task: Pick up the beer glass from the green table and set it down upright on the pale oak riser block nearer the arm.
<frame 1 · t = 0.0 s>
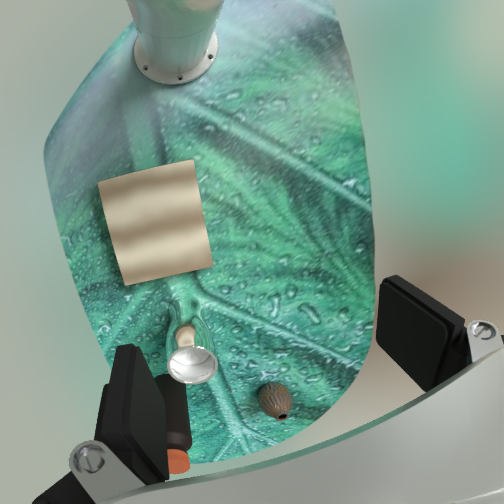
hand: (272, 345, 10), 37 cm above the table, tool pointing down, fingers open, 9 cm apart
oak riser: (157, 220, 44), on the table
bottle: (168, 384, 54), on the table
beer glass: (186, 309, 50), on the table
vase: (269, 388, 60), on the table
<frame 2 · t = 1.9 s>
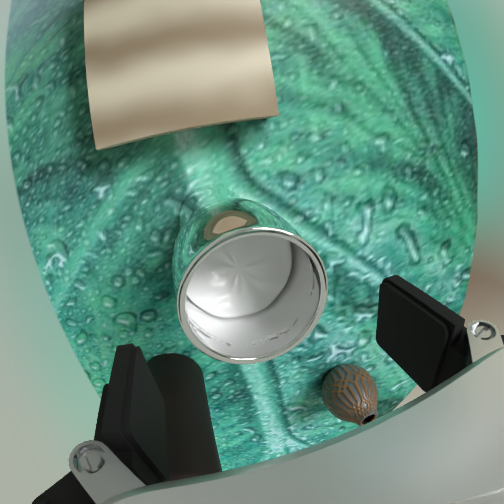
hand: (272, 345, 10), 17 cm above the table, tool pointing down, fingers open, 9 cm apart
oak riser: (174, 44, 20), on the table
bottle: (172, 373, 31), on the table
beer glass: (213, 218, 26), on the table
vase: (337, 374, 37), on the table
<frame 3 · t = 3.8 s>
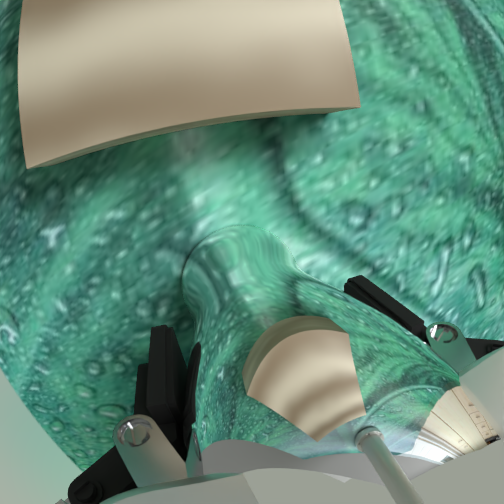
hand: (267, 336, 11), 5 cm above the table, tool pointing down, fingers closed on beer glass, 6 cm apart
beer glass: (239, 279, 16), on the table, touching gripper
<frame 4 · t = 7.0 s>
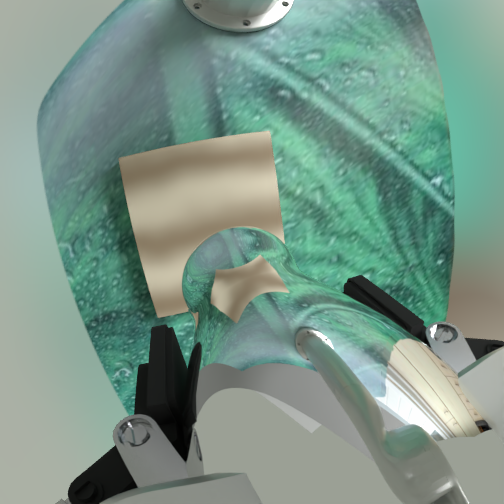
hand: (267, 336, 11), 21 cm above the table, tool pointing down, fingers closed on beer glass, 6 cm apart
oak riser: (206, 221, 30), on the table
beer glass: (238, 280, 16), point 16 cm above the table, touching gripper
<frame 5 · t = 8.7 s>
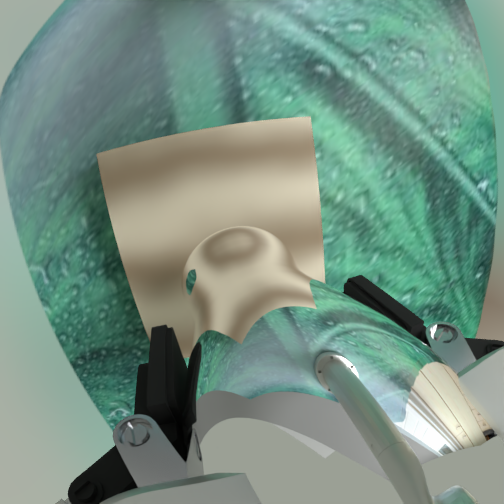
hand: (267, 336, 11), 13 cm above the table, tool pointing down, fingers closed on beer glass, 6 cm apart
oak riser: (220, 237, 23), on the table
beer glass: (238, 280, 16), point 8 cm above the table, touching gripper
when the fingers open (10 cm above the table, at t = 10.3 s): beer glass drops 1 cm, resting on oak riser.
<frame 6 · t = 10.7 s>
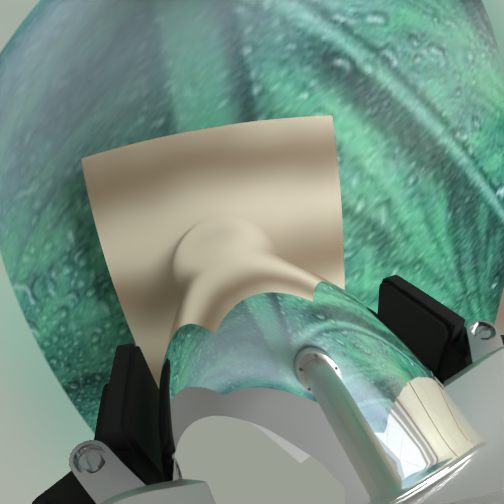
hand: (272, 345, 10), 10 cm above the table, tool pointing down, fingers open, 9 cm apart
oak riser: (226, 253, 20), on the table
beer glass: (225, 267, 17), point 3 cm above the table, touching oak riser
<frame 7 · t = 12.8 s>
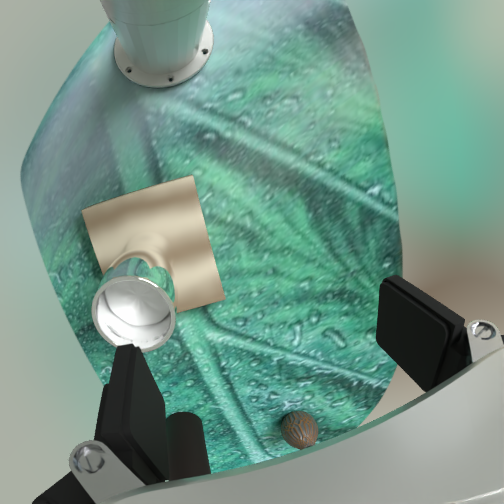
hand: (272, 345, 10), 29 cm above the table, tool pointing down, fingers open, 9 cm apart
oak riser: (155, 249, 37), on the table
bottle: (183, 421, 47), on the table
beer glass: (149, 255, 35), point 3 cm above the table, touching oak riser
vase: (293, 416, 53), on the table
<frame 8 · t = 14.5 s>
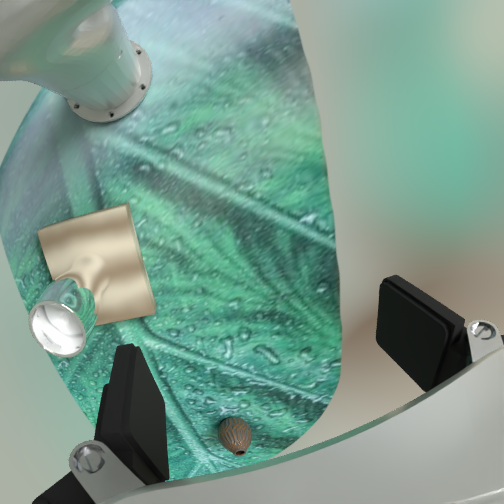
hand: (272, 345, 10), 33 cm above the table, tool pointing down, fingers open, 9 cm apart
oak riser: (98, 266, 40), on the table
beer glass: (91, 272, 38), point 3 cm above the table, touching oak riser
vase: (231, 421, 57), on the table
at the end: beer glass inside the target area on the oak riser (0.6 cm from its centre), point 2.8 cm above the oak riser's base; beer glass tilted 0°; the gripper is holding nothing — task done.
